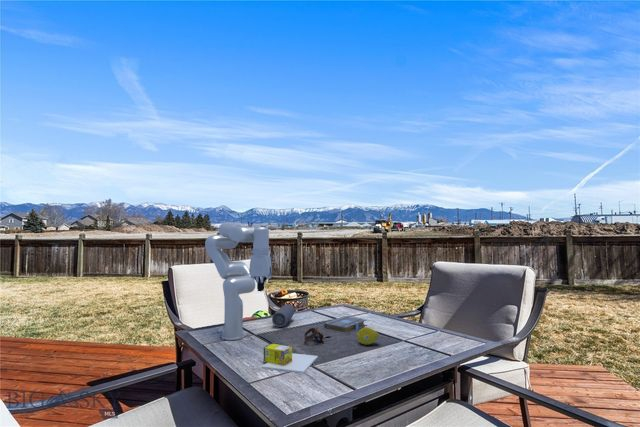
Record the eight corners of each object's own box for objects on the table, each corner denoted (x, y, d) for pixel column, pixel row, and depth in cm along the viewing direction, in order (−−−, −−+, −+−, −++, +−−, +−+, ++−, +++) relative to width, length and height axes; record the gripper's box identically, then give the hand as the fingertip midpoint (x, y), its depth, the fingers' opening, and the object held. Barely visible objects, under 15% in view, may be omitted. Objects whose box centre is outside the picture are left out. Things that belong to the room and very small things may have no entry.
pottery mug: (325, 346, 169) (318, 332, 168) (308, 354, 170) (301, 340, 169) (326, 333, 181) (318, 320, 179) (310, 340, 182) (302, 327, 181)
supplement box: (263, 361, 146) (284, 365, 141) (263, 347, 147) (284, 350, 142) (271, 357, 152) (292, 361, 146) (271, 343, 152) (292, 346, 147)
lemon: (354, 345, 169) (353, 328, 170) (360, 340, 176) (359, 324, 176) (375, 348, 164) (375, 331, 164) (380, 343, 171) (380, 327, 171)
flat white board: (262, 368, 141) (262, 366, 141) (280, 353, 158) (280, 352, 158) (303, 373, 135) (303, 371, 135) (317, 357, 152) (317, 355, 152)
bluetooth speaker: (280, 319, 221) (280, 303, 222) (295, 319, 220) (295, 303, 220) (270, 329, 199) (271, 311, 199) (286, 329, 197) (286, 311, 198)
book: (344, 322, 214) (343, 314, 214) (367, 327, 203) (367, 318, 204) (322, 330, 197) (322, 321, 198) (346, 335, 187) (346, 325, 187)
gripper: (243, 252, 167) (243, 291, 165) (271, 253, 162) (271, 292, 161) (250, 252, 174) (250, 289, 173) (278, 252, 169) (278, 290, 168)
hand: (260, 290), depth 167 cm, fingers closed
